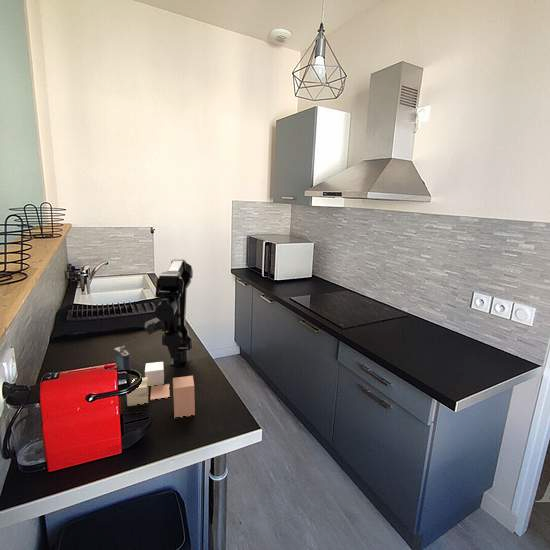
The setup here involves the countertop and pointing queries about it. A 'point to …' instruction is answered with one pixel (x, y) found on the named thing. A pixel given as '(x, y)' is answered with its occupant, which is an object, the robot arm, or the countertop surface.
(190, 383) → the terracotta block
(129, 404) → the birch block
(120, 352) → the flask
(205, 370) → the countertop surface
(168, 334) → the robot arm
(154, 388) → the colour card
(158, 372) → the white block
